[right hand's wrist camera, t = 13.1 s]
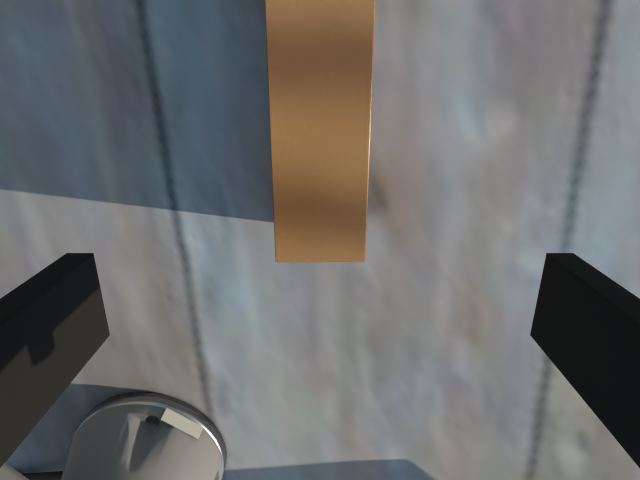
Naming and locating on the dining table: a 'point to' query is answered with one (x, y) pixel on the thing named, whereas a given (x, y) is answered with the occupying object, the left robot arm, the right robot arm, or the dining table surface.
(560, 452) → the dining table surface
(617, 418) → the right robot arm
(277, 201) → the post
